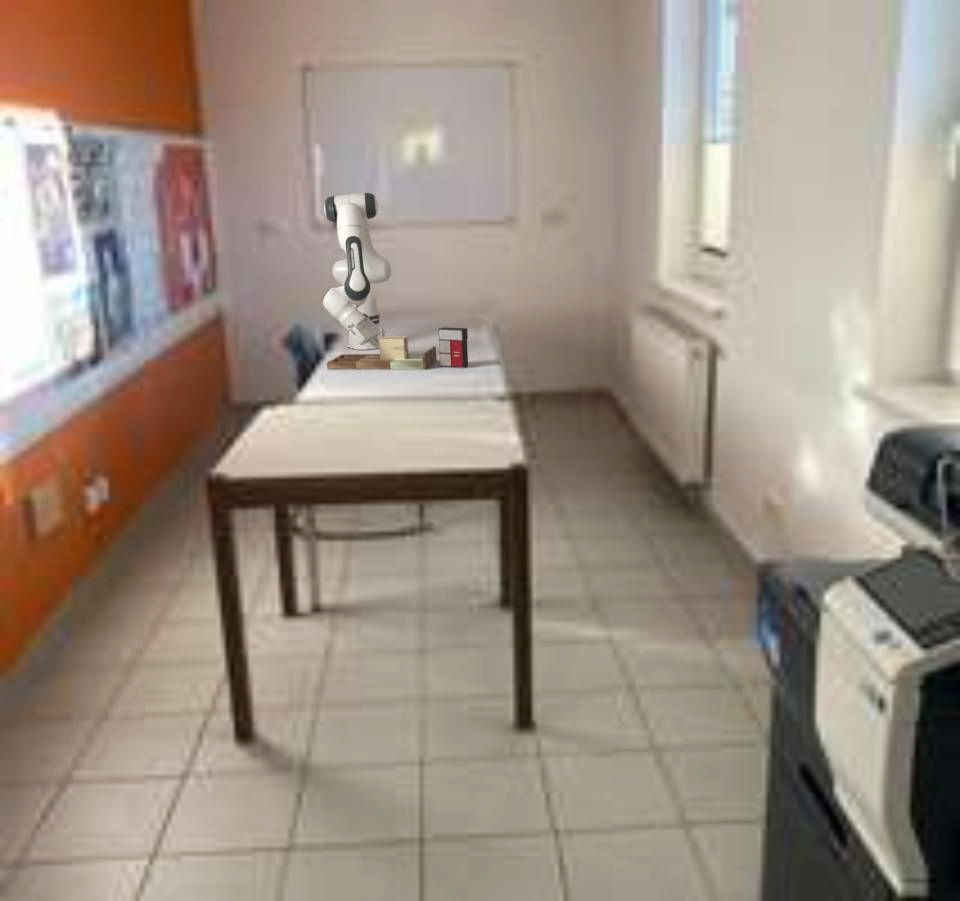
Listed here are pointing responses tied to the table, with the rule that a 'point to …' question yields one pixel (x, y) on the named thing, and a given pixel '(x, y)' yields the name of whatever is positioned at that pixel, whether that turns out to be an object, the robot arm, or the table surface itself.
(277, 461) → the table surface
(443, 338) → the toy cabinet
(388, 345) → the block
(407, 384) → the table surface
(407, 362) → the box
